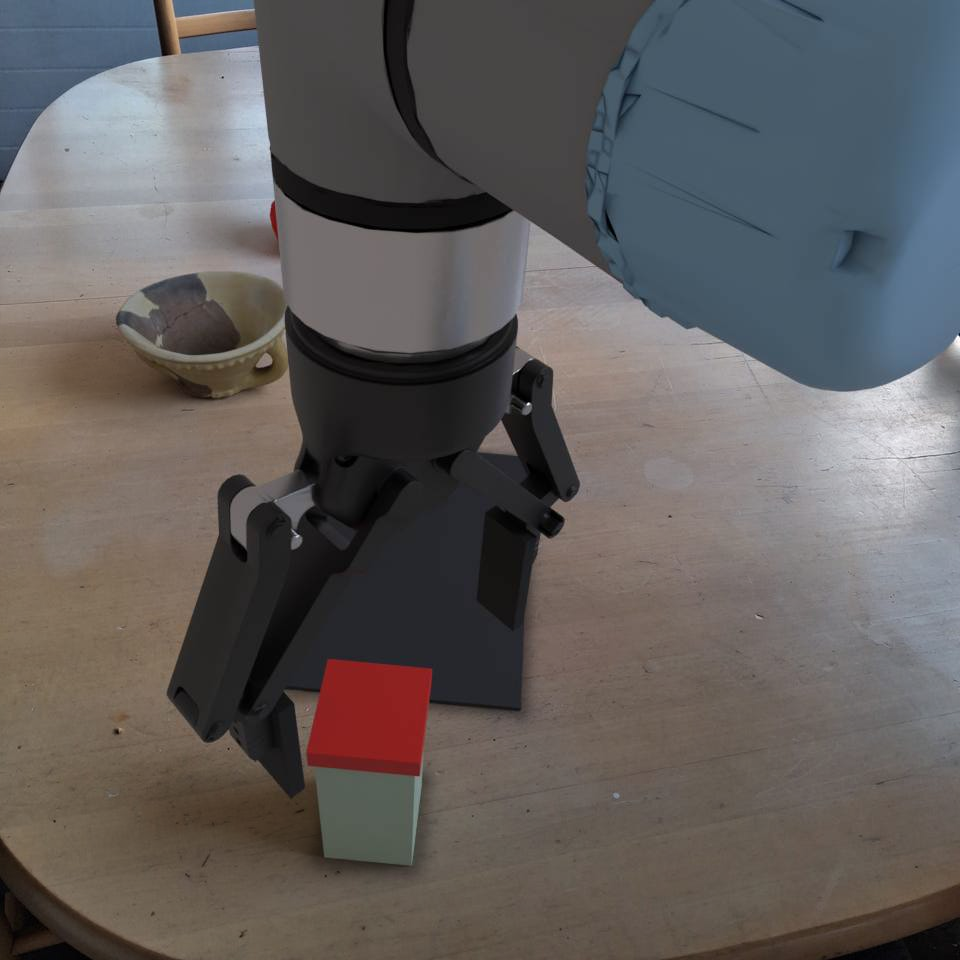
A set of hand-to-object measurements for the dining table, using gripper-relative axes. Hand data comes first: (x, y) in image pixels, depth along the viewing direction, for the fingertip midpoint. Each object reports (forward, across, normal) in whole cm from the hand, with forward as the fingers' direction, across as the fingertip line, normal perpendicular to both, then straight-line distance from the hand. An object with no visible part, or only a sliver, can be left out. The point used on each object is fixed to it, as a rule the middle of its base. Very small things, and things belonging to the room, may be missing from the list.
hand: (399, 685), depth 43 cm
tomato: (+24, -47, -74) cm, 91 cm away
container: (+24, -2, -5) cm, 25 cm away
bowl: (+24, -22, -56) cm, 65 cm away
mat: (+24, -21, -22) cm, 39 cm away
